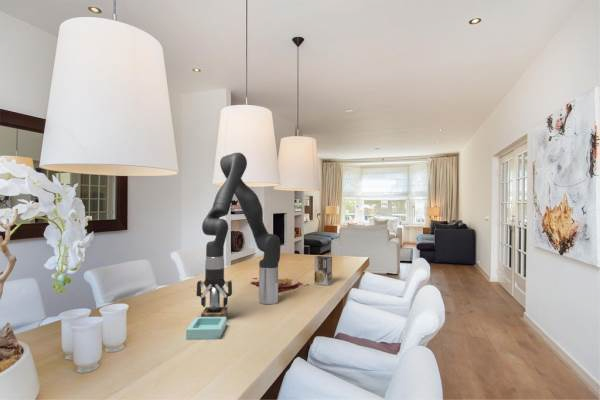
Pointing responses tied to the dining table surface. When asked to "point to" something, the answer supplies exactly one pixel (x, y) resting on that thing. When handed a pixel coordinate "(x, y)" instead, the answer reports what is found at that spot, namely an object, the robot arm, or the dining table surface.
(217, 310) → the pin
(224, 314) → the holder
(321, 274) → the coffee box
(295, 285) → the plate with food
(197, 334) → the tray
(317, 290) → the dining table surface
